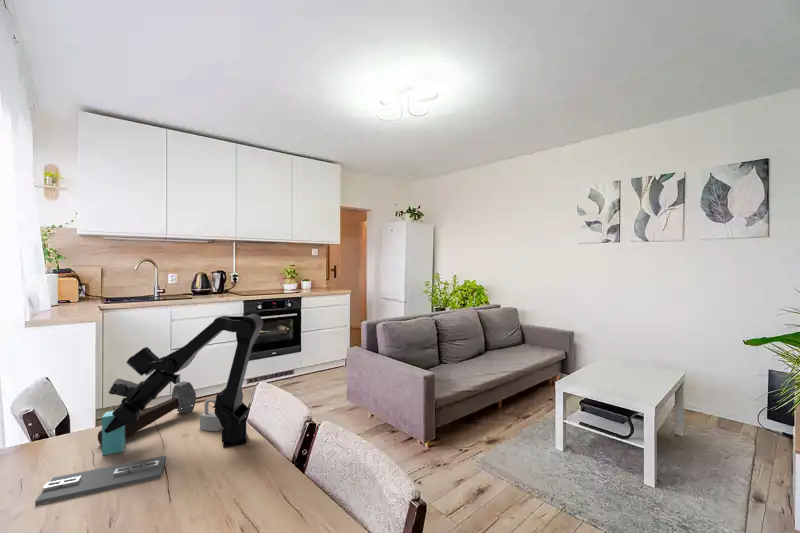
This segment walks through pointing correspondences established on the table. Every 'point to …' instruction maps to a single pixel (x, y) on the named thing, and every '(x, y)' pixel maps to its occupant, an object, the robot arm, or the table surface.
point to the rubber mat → (101, 480)
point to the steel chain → (117, 473)
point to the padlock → (209, 419)
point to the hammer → (163, 408)
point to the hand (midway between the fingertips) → (107, 428)
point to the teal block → (112, 436)
